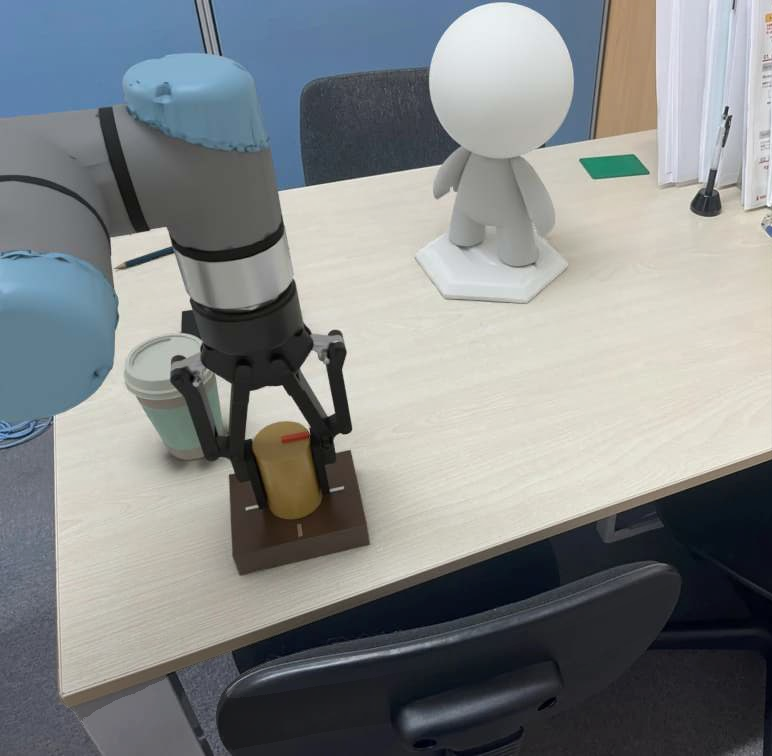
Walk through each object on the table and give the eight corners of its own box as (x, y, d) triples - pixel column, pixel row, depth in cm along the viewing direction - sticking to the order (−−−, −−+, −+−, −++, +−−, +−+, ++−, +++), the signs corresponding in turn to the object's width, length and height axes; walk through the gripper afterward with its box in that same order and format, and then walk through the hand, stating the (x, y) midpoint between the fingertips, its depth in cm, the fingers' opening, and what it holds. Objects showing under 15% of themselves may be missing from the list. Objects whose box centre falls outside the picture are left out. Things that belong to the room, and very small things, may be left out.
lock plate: (239, 575, 65) (231, 555, 63) (235, 493, 72) (228, 473, 70) (370, 544, 68) (367, 524, 66) (353, 468, 75) (350, 448, 73)
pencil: (215, 239, 109) (115, 273, 101) (212, 237, 110) (112, 270, 102) (214, 234, 109) (113, 267, 101) (211, 232, 109) (110, 264, 101)
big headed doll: (586, 251, 110) (616, 2, 87) (504, 323, 95) (515, 47, 72) (480, 214, 118) (482, -23, 95) (389, 275, 103) (366, 12, 80)
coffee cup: (224, 403, 82) (198, 320, 74) (247, 450, 77) (222, 365, 69) (146, 430, 78) (110, 345, 70) (165, 482, 73) (128, 396, 65)
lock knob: (270, 525, 66) (252, 464, 60) (266, 485, 69) (249, 424, 64) (325, 512, 67) (312, 452, 61) (319, 474, 70) (306, 414, 65)
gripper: (357, 243, 57) (381, 443, 72) (112, 275, 52) (192, 482, 68) (374, 295, 52) (396, 499, 67) (102, 335, 47) (192, 545, 62)
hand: (293, 490), depth 67 cm, fingers closed on lock knob, 5 cm apart
